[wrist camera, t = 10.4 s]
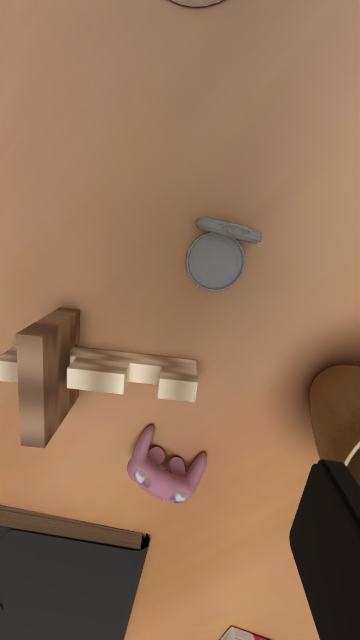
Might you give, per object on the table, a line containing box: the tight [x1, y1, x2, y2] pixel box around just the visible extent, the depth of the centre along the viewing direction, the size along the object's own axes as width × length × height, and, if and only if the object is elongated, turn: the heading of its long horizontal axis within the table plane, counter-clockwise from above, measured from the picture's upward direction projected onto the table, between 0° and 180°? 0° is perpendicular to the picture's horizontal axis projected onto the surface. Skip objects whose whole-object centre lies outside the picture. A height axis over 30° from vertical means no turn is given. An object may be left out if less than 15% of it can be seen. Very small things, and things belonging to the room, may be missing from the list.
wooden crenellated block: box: [0, 346, 198, 402], centre depth 36 cm, size 22×2×6 cm, turn 84°
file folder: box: [0, 506, 150, 640], centre depth 50 cm, size 33×4×24 cm
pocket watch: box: [186, 217, 262, 291], centre depth 30 cm, size 8×8×10 cm
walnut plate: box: [16, 308, 80, 448], centre depth 34 cm, size 12×2×10 cm, turn 174°
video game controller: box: [127, 425, 207, 503], centre depth 40 cm, size 10×5×7 cm, turn 59°
